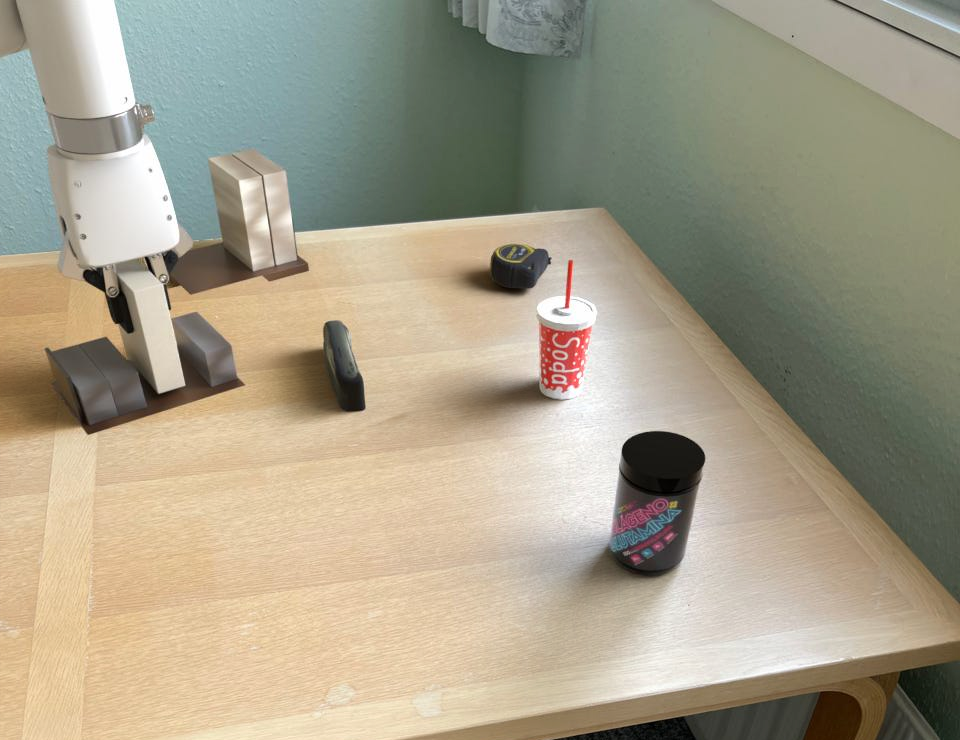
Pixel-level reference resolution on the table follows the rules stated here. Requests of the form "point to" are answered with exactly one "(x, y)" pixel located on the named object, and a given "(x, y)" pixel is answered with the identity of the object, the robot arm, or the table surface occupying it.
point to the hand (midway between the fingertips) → (143, 321)
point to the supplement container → (655, 501)
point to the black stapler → (343, 367)
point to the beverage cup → (564, 342)
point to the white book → (149, 327)
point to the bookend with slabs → (244, 227)
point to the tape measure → (518, 265)
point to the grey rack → (140, 376)
